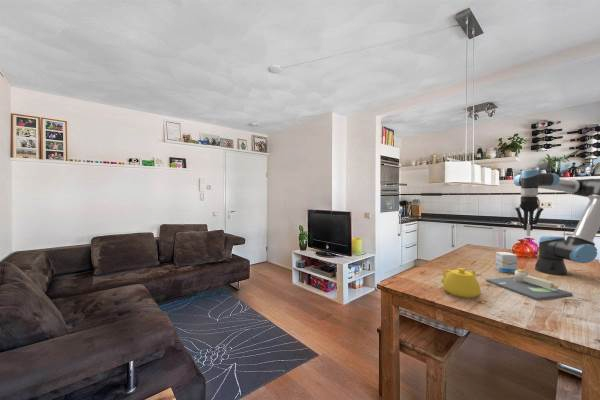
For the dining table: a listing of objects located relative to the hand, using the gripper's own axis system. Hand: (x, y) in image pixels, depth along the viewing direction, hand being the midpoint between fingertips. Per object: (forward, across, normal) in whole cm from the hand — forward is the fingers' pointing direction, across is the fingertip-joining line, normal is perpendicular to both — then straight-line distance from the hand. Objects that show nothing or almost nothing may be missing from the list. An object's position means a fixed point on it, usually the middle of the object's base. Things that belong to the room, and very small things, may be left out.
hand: (527, 235), depth 151 cm
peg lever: (+25, 0, -15) cm, 29 cm away
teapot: (+27, -37, -37) cm, 59 cm away
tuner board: (+26, -4, -17) cm, 32 cm away
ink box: (+27, -6, +16) cm, 32 cm away
